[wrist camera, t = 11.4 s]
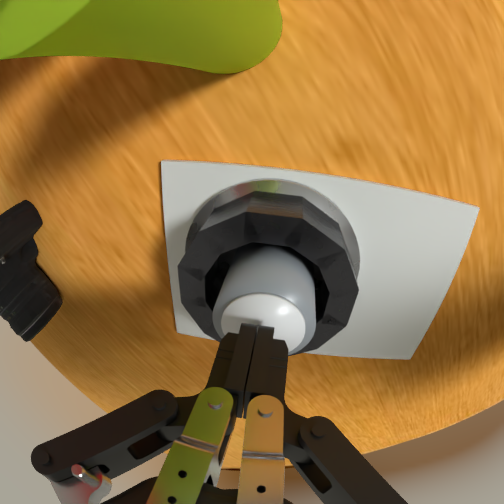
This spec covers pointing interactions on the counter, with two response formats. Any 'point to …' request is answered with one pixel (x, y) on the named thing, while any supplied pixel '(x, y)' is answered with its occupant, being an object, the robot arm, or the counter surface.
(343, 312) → the black faceted bowl
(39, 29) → the soap dispenser
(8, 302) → the camera
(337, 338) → the mat
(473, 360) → the counter surface
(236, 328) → the cap
